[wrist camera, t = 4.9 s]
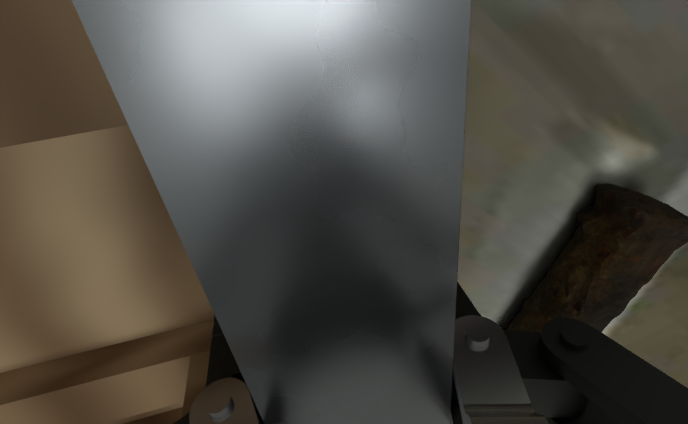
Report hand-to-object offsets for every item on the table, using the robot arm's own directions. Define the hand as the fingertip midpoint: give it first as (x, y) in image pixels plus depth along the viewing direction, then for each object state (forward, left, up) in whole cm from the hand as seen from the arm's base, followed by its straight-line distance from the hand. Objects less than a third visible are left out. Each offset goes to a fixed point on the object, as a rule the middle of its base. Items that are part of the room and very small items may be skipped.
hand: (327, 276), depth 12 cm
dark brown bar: (-13, +14, -6) cm, 20 cm away
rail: (0, 0, -1) cm, 1 cm away
